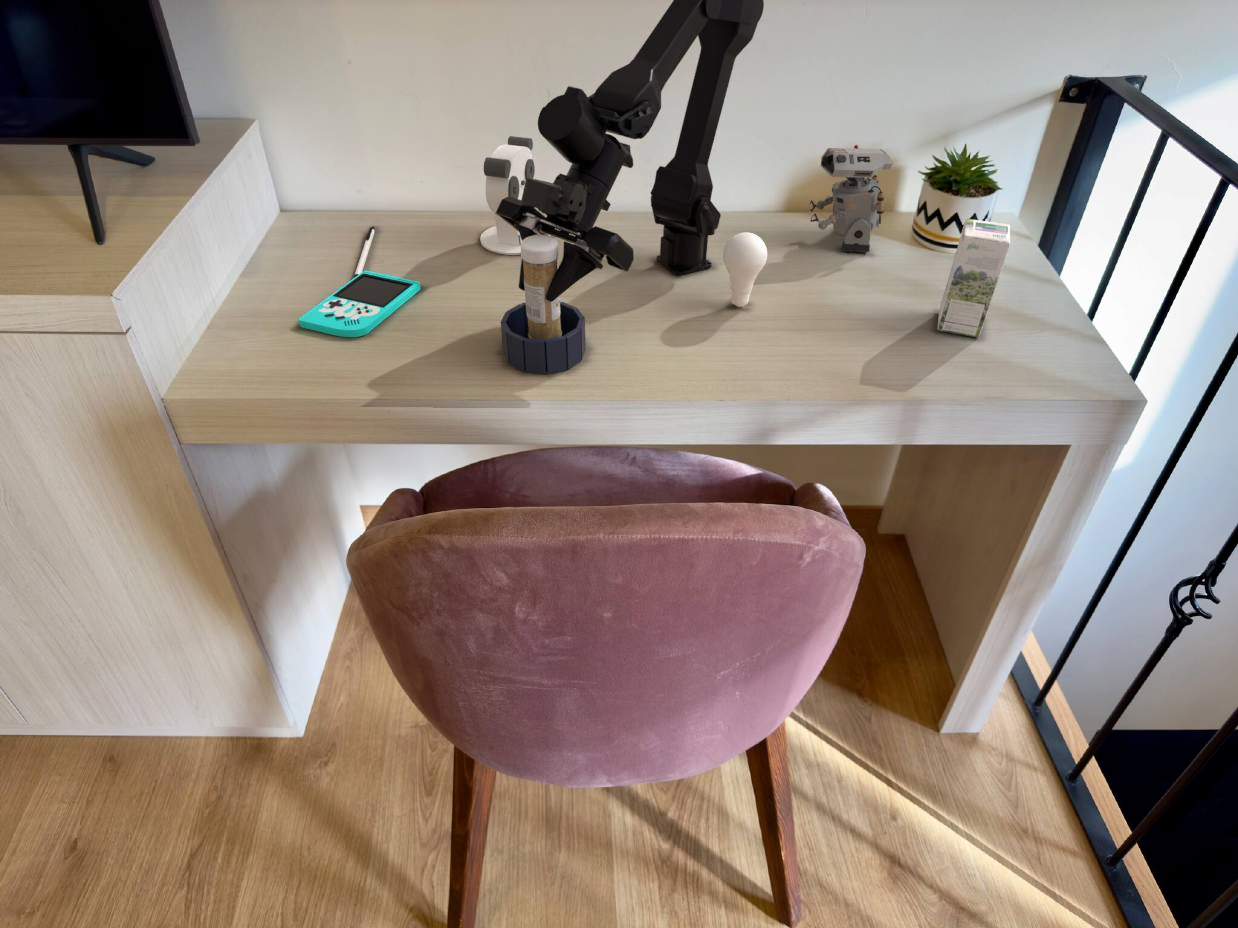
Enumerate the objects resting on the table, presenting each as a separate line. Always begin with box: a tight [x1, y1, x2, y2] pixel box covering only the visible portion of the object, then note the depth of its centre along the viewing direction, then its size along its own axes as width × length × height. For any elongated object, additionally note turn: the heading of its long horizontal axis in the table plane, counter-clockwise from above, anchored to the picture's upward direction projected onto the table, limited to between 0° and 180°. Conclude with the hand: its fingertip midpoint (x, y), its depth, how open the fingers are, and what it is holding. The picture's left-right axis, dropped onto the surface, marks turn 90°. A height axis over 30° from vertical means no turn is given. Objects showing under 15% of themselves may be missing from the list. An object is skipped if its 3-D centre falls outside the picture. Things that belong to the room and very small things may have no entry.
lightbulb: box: [722, 231, 768, 308], centre depth 120 cm, size 6×6×11 cm
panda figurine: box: [479, 135, 551, 256], centre depth 135 cm, size 12×11×15 cm
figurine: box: [809, 144, 894, 255], centre depth 136 cm, size 9×12×15 cm
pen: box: [353, 225, 376, 278], centre depth 135 cm, size 1×19×1 cm, turn 5°
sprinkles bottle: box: [520, 235, 562, 340], centre depth 108 cm, size 5×5×14 cm
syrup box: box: [936, 218, 1011, 338], centre depth 115 cm, size 6×6×14 cm
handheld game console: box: [297, 270, 422, 338], centre depth 122 cm, size 10×16×1 cm, turn 158°
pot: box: [500, 300, 586, 375], centre depth 112 cm, size 11×11×5 cm
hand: (534, 294), depth 107 cm, fingers closed on sprinkles bottle, 4 cm apart
